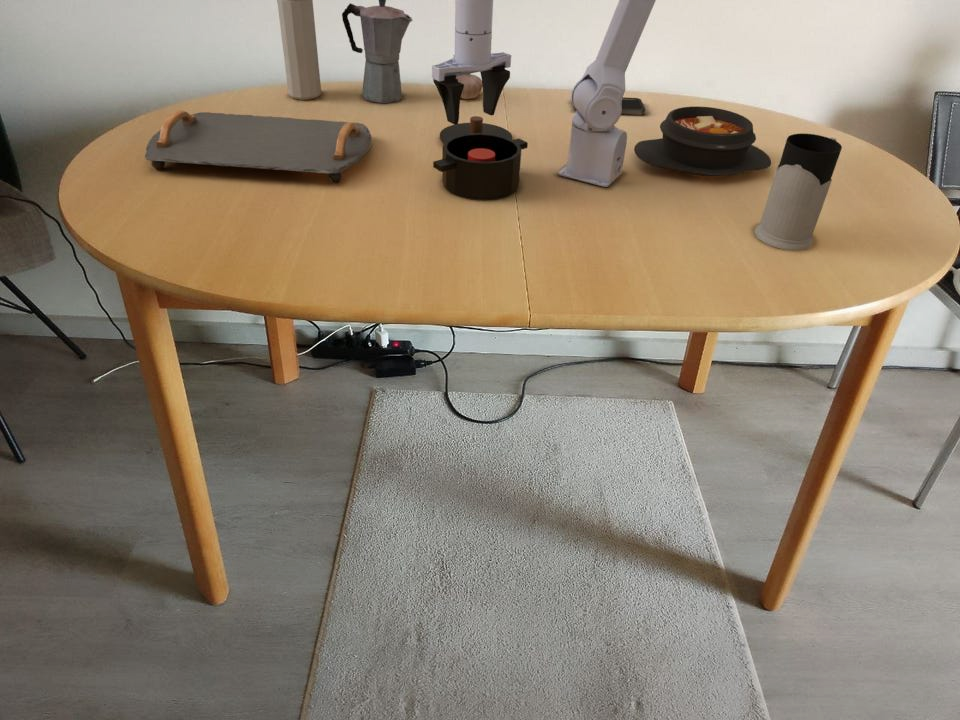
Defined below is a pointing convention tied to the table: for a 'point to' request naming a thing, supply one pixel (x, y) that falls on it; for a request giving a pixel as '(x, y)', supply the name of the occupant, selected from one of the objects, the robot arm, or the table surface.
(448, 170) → the cooker
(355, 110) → the table surface
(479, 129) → the cooker lid
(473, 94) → the garlic bulb
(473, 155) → the tin
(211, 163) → the serving tray
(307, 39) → the water bottle
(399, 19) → the moka pot
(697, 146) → the casserole
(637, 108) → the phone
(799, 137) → the glass holder
